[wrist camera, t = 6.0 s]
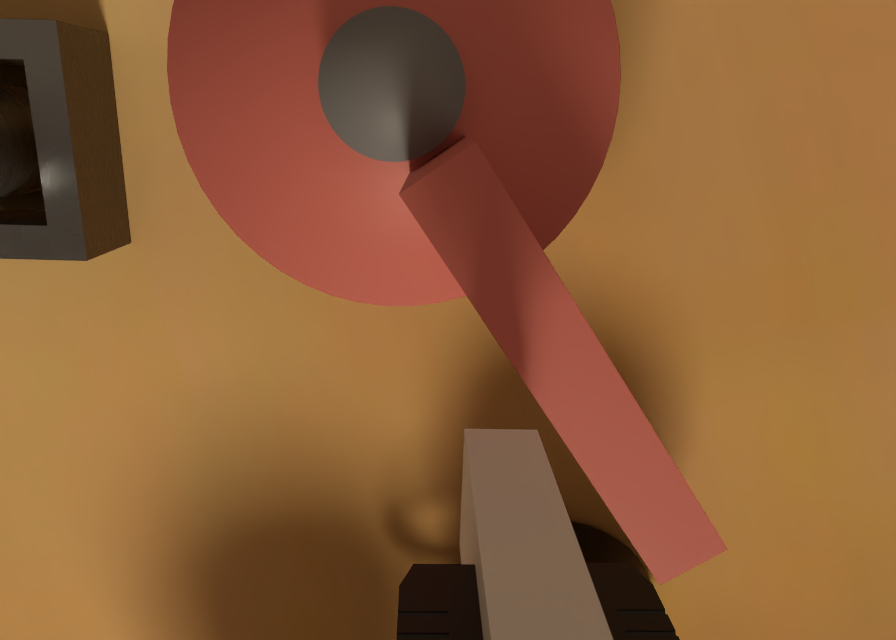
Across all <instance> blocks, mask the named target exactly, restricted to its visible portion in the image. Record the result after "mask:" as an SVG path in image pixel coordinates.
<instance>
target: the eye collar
mask: <svg viewBox="0 0 896 640" xmlns="http://www.w3.org/2000/svg"><path fill="white" fill-rule="evenodd" d="M0 65H24V66H25V73H26V80H27V87H28V94H29V101H30V108H31V115H32V122H33V129H34V135H35V142H36V149H37V156H38V163H39V170H40V177H41V184H42V191H43V198H44V205H45V211H36V210H1V209H0V258H2V259H39V260H76V261H88V260H90V259H93V258H95V257H98V256H100V255H102V254H105V253H107V252H110V251H112V250H115V249H117V248H120V247H122V246H125V245H127V244H130V243H131V240H130V231H129V222H128V213H127V203H126V194H125V185H124V176H123V167H122V157H121V148H120V139H119V130H118V121H117V111H116V102H115V93H114V84H113V75H112V65H111V56H110V47H109V38H108V34H107V33H103V32H99V31H95V30H91V29H87V28H84V27H80V26H76V25H72V24H68V23H64V22H60V21H56V20H31V19H3V18H0Z"/></svg>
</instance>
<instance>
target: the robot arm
mask: <svg viewBox="0 0 896 640" xmlns="http://www.w3.org/2000/svg"><path fill="white" fill-rule="evenodd" d="M460 556H461V564H413V566H412V567H411V569H410V570H409V572H408V573H407V575H406V576H405V578H404V580H403V581H402V583H401V584H400V586H399V604H398V622H397V640H680V639H679V637H678V636H676V634H675V629H674V627H673V625H672V623H671V621H670V619H669V617H668V615H667V614H665V608H664V606H663V604H662V602H661V600H660V598H659V596H658V594H657V592H656V590H655V588H654V586H653V584H652V583H651V582H650V581H649V580H647V579H646V578H645V577H644V576H643V575H642V574H641V573H640V572H639V571H638V570H637V569H636V568H635V567H634V566H632V565H631V564H630V563H585V560H584V557H583V554H582V552H581V549H580V546H579V543H578V541H577V538H576V535H575V532H574V530H573V527H572V524H571V521H570V519H569V516H568V513H567V510H566V507H565V505H564V502H563V499H562V496H561V494H560V491H559V488H558V485H557V483H556V480H555V477H554V474H553V472H552V469H551V466H550V463H549V460H548V458H547V455H546V452H545V449H544V447H543V444H542V441H541V438H540V436H539V433H538V430H524V429H464V449H463V473H462V497H461V521H460Z"/></svg>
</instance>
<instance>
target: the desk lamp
mask: <svg viewBox="0 0 896 640" xmlns="http://www.w3.org/2000/svg"><path fill="white" fill-rule="evenodd" d="M167 72H168V82H169V92H170V101H171V106H172V110H173V115H174V119H175V123H176V128H177V132H178V135H179V138H180V140H181V143H182V146H183V149H184V151H185V154H186V157H187V160H188V162H189V164H190V166H191V168H192V170H193V172H194V174H195V176H196V178H197V180H198V182H199V184H200V186H201V188H202V190H203V191H204V193H205V194H206V196H207V197H208V199H209V200H210V202H211V203H212V205H213V206H214V208H215V209H216V211H217V212H218V213H219V215H220V216H221V217H222V218H223V219H224V221H225V222H226V223H227V224H228V225H229V226H230V228H231V229H232V230H233V231H234V232H235V233H236V235H237V236H238V237H239V238H241V239H242V240H243V241H244V242H245V243H246V244H247V245H248V246H249V247H250V248H251V249H252V250H254V251H255V252H256V253H257V254H258V255H259V256H260V257H262V258H263V259H265V260H266V261H267V262H269V263H270V264H272V265H273V266H274V267H276V268H277V269H279V270H280V271H281V272H283V273H285V274H287V275H289V276H290V277H292V278H294V279H296V280H298V281H299V282H301V283H303V284H305V285H307V286H310V287H312V288H315V289H317V290H320V291H322V292H325V293H327V294H330V295H332V296H336V297H340V298H344V299H348V300H351V301H355V302H360V303H368V304H375V305H383V306H415V305H423V304H432V303H439V302H443V301H447V300H451V299H455V298H459V297H463V296H467V297H468V299H469V300H470V302H471V303H472V305H473V306H474V308H475V309H476V311H477V312H478V314H479V315H480V317H481V318H482V320H483V321H484V323H485V324H486V326H487V327H488V329H489V330H490V332H491V333H492V335H493V336H494V338H495V339H496V341H497V342H498V344H499V345H500V347H501V348H502V350H503V351H504V353H505V354H506V356H507V357H508V359H509V360H510V362H511V363H512V365H513V366H514V368H515V369H516V371H517V372H518V374H519V375H520V377H521V378H522V380H523V381H524V383H525V384H526V386H527V387H528V389H529V390H530V392H531V393H532V395H533V396H534V398H535V399H536V401H537V402H538V404H539V405H540V407H541V408H542V410H543V411H544V413H545V414H546V416H547V417H548V419H549V420H550V422H551V423H552V425H553V426H554V428H555V429H556V431H557V432H558V434H559V435H560V437H561V438H562V440H563V441H564V443H565V444H566V446H567V447H568V449H569V450H570V452H571V453H572V455H573V456H574V458H575V459H576V461H577V462H578V464H579V465H580V467H581V468H582V470H583V471H584V473H585V474H586V476H587V477H588V479H589V480H590V482H591V483H592V485H593V486H594V488H595V489H596V491H597V492H598V494H599V495H600V497H601V498H602V500H603V501H604V502H605V504H606V505H607V507H608V508H609V510H610V511H611V513H612V514H613V516H614V517H615V519H616V520H617V522H618V523H619V525H620V526H621V528H622V529H623V531H624V532H625V534H626V535H627V537H628V538H629V540H630V541H631V543H632V544H633V546H634V547H635V549H636V550H637V552H638V553H639V555H640V556H641V558H642V559H643V561H644V562H645V564H646V565H647V567H648V568H649V570H650V571H651V573H652V574H653V576H654V577H655V579H656V580H657V582H658V583H659V585H661V584H663V583H665V582H667V581H669V580H671V579H673V578H675V577H676V576H678V575H680V574H682V573H684V572H686V571H688V570H690V569H692V568H693V567H695V566H697V565H699V564H701V563H703V562H705V561H707V560H709V559H710V558H712V557H714V556H716V555H718V554H720V553H722V552H724V551H726V550H727V547H726V546H725V544H724V542H723V541H722V539H721V538H720V536H719V534H718V533H717V531H716V529H715V528H714V526H713V525H712V523H711V521H710V520H709V518H708V517H707V515H706V513H705V512H704V510H703V508H702V507H701V505H700V504H699V502H698V500H697V499H696V497H695V496H694V494H693V492H692V491H691V489H690V487H689V486H688V484H687V483H686V481H685V479H684V478H683V476H682V474H681V473H680V471H679V470H678V468H677V466H676V465H675V463H674V462H673V460H672V458H671V457H670V455H669V453H668V452H667V450H666V449H665V447H664V445H663V444H662V442H661V441H660V439H659V437H658V436H657V434H656V432H655V431H654V429H653V428H652V426H651V424H650V423H649V421H648V420H647V418H646V416H645V415H644V413H643V411H642V410H641V408H640V407H639V405H638V403H637V402H636V400H635V398H634V397H633V395H632V394H631V392H630V390H629V389H628V387H627V386H626V384H625V382H624V381H623V379H622V377H621V376H620V374H619V373H618V371H617V369H616V368H615V366H614V365H613V363H612V361H611V360H610V358H609V356H608V355H607V353H606V352H605V350H604V348H603V347H602V345H601V344H600V342H599V340H598V339H597V337H596V335H595V334H594V332H593V331H592V329H591V327H590V326H589V324H588V322H587V321H586V319H585V318H584V316H583V314H582V313H581V311H580V310H579V308H578V306H577V305H576V303H575V301H574V300H573V298H572V297H571V295H570V293H569V292H568V290H567V289H566V287H565V285H564V284H563V282H562V280H561V279H560V277H559V276H558V274H557V272H556V271H555V269H554V267H553V266H552V264H551V263H550V261H549V259H548V258H547V256H546V255H545V253H544V251H543V250H544V249H545V248H546V247H547V246H548V245H549V244H550V243H551V242H552V241H553V240H555V239H556V237H557V236H558V235H559V234H560V233H561V232H562V230H563V229H564V228H565V227H566V226H567V224H568V223H569V222H570V221H571V220H572V218H573V217H574V216H575V214H576V213H577V211H578V210H579V208H580V206H581V205H582V203H583V202H584V200H585V199H586V197H587V196H588V194H589V192H590V191H591V188H592V186H593V184H594V182H595V180H596V178H597V176H598V174H599V172H600V170H601V168H602V166H603V163H604V160H605V157H606V154H607V151H608V148H609V145H610V142H611V139H612V135H613V131H614V126H615V121H616V116H617V111H618V105H619V93H620V80H621V68H620V45H619V39H618V33H617V27H616V21H615V15H614V11H613V7H612V4H611V1H610V0H174V4H173V7H172V14H171V21H170V28H169V35H168V60H167Z"/></svg>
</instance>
